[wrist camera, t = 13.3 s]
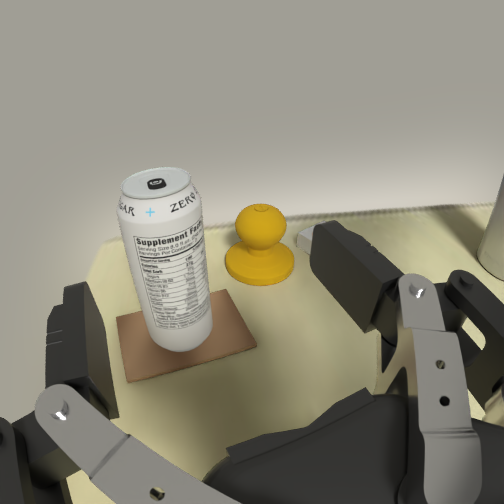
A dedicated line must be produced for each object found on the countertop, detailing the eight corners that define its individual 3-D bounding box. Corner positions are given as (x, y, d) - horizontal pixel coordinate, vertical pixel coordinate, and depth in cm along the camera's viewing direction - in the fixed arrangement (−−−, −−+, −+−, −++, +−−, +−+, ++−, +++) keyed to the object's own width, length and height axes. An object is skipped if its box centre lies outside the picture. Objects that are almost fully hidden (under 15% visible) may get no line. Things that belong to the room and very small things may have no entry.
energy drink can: (202, 302, 33) (188, 159, 24) (222, 345, 28) (210, 188, 20) (145, 317, 31) (111, 174, 22) (158, 364, 26) (113, 208, 18)
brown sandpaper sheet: (226, 291, 35) (225, 288, 34) (256, 346, 29) (256, 343, 29) (117, 319, 31) (116, 317, 31) (128, 382, 25) (126, 380, 25)
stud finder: (373, 267, 39) (378, 249, 37) (350, 284, 36) (354, 265, 35) (321, 236, 45) (324, 218, 43) (296, 248, 42) (298, 230, 40)
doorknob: (277, 240, 43) (304, 277, 37) (218, 251, 41) (237, 293, 35) (280, 188, 39) (312, 220, 33) (215, 197, 36) (236, 233, 30)
